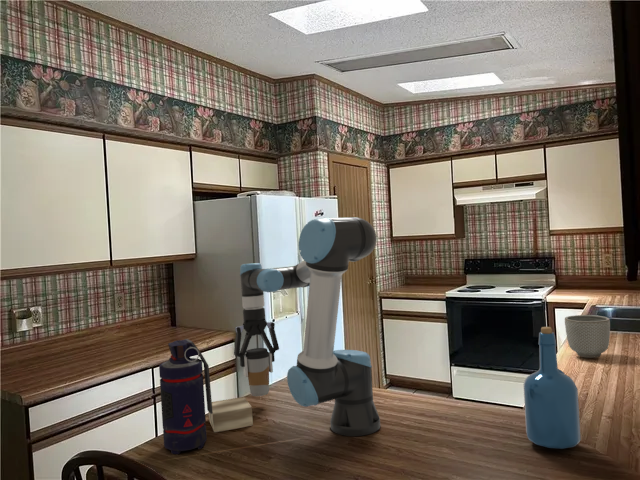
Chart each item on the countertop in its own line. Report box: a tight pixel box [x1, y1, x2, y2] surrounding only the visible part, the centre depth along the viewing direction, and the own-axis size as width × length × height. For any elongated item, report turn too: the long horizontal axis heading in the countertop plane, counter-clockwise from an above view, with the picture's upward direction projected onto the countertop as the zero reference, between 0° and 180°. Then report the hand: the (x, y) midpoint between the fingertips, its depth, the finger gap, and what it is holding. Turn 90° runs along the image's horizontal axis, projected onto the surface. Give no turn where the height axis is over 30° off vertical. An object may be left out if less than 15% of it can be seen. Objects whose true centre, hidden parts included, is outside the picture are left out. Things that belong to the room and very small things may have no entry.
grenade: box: [158, 338, 213, 455], centre depth 147 cm, size 14×12×30 cm
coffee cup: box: [245, 347, 270, 397], centre depth 177 cm, size 8×8×15 cm
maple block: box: [207, 396, 254, 433], centre depth 164 cm, size 12×12×6 cm
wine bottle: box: [523, 326, 581, 450], centre depth 136 cm, size 14×13×30 cm
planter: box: [564, 314, 611, 359], centre depth 221 cm, size 17×17×16 cm
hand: (258, 373), depth 177 cm, fingers closed on coffee cup, 8 cm apart
